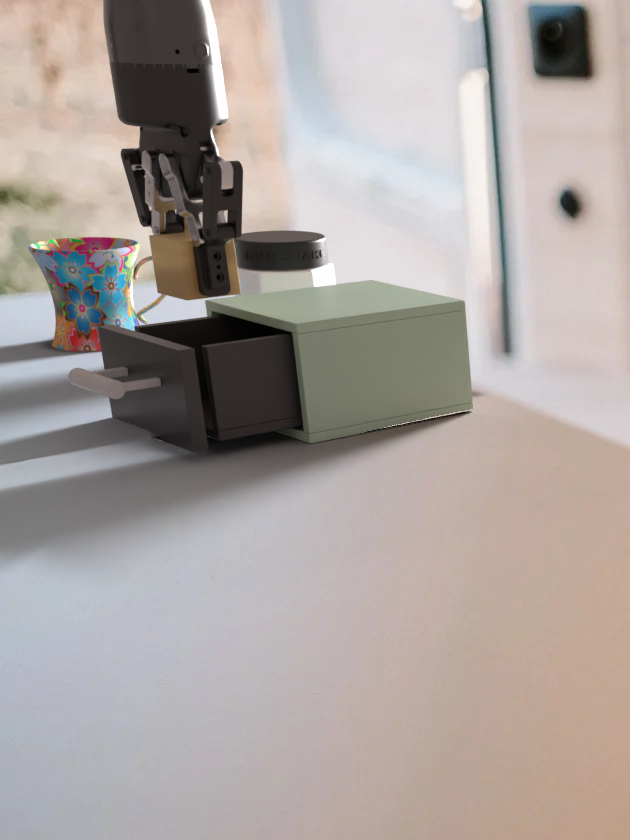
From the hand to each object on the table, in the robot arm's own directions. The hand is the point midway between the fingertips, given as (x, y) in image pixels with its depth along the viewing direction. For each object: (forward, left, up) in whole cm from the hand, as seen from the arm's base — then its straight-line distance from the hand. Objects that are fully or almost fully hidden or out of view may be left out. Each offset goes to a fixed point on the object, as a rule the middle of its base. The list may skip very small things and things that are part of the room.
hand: (198, 289), depth 125 cm
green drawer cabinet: (+12, 0, -12) cm, 17 cm away
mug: (+9, +34, -12) cm, 37 cm away
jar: (+19, +20, -12) cm, 30 cm away
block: (0, 0, 0) cm, 0 cm away
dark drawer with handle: (0, 0, -11) cm, 11 cm away
